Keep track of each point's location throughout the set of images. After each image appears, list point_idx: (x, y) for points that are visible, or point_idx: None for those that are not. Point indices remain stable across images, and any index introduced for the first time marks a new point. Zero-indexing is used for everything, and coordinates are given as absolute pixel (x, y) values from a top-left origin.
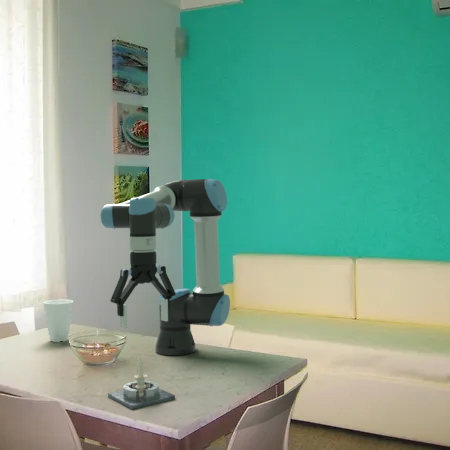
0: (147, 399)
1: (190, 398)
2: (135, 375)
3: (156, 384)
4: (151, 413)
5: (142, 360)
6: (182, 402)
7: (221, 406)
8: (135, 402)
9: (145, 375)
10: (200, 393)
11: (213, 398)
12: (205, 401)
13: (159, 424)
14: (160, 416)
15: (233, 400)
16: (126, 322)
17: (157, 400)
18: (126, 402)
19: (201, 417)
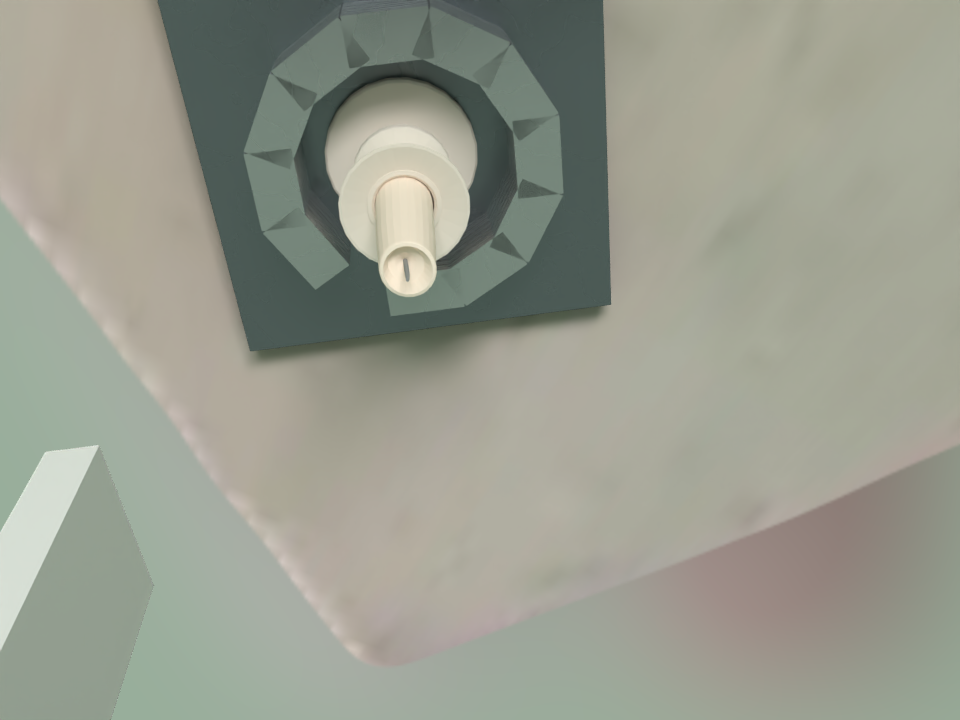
0: None
1: (696, 332)
2: (369, 160)
3: (537, 208)
4: (346, 449)
5: (425, 291)
6: (607, 373)
7: (746, 527)
8: (297, 301)
9: (456, 205)
10: (815, 276)
11: (808, 401)
12: (733, 423)
13: (322, 596)
14: (374, 510)
15: (869, 480)
16: (116, 664)
17: (460, 321)
18: (236, 268)
19: (558, 605)
